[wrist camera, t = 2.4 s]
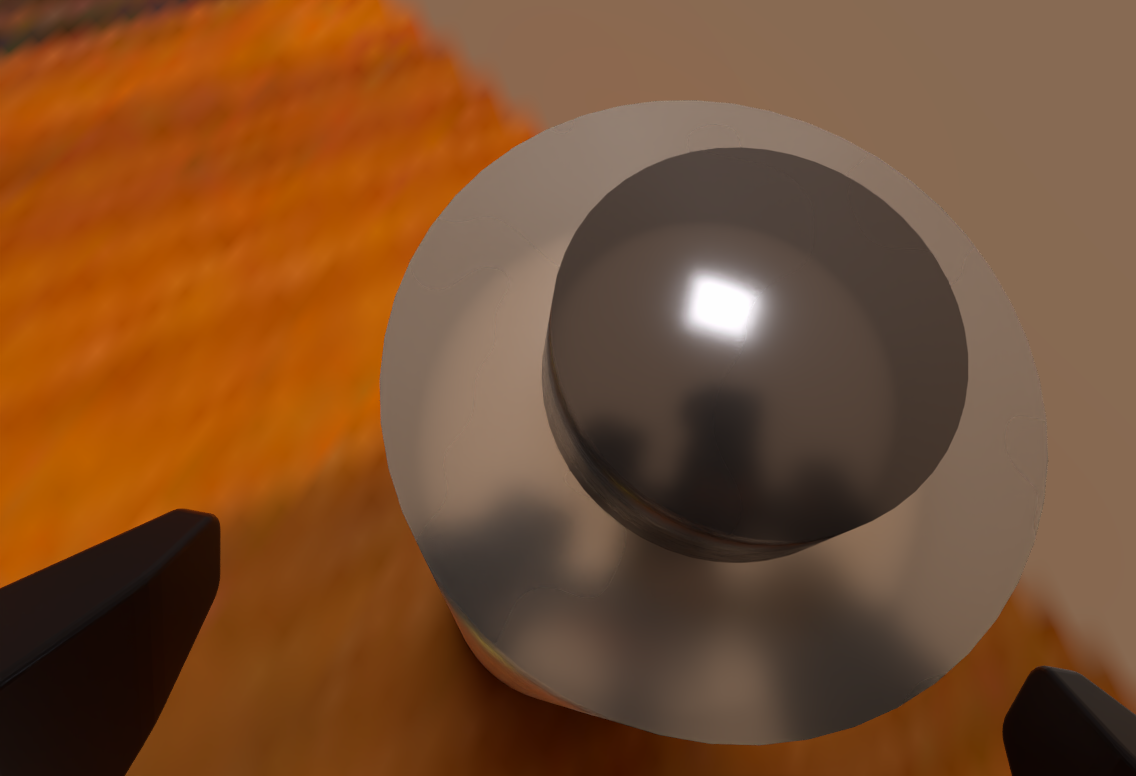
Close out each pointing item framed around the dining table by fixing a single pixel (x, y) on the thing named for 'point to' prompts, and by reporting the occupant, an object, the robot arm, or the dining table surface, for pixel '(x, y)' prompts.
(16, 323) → the dining table surface
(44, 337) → the dining table surface
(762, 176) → the metal water bottle
